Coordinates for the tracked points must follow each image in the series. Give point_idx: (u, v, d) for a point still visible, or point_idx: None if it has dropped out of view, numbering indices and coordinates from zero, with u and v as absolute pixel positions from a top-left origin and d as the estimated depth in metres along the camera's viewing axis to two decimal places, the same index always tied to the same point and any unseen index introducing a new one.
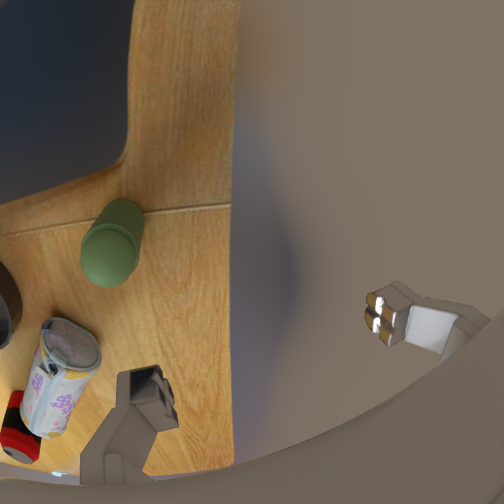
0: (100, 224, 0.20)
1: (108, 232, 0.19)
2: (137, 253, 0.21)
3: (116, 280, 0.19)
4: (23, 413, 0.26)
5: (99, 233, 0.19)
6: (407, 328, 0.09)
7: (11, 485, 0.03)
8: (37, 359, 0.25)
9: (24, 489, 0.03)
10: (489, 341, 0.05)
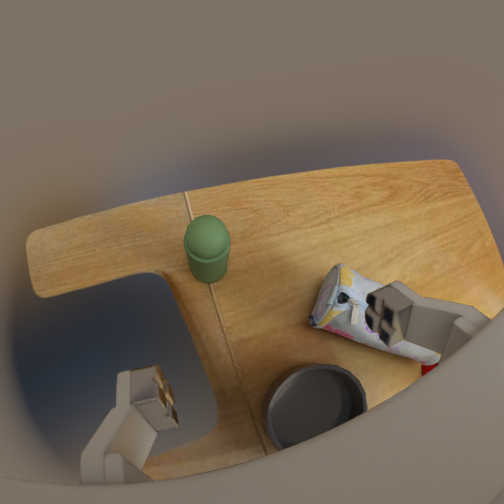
0: (185, 249, 0.30)
1: None
2: None
3: (214, 219, 0.28)
4: (433, 356, 0.31)
5: (186, 242, 0.29)
6: (407, 328, 0.09)
7: (11, 485, 0.03)
8: (350, 329, 0.32)
9: (24, 489, 0.03)
10: (489, 341, 0.05)
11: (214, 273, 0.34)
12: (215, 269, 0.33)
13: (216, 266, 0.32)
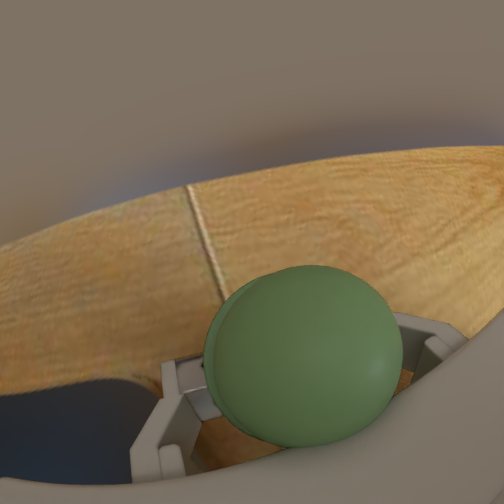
0: (215, 401, 0.07)
1: (214, 370, 0.06)
2: None
3: (367, 298, 0.05)
4: None
5: (223, 400, 0.06)
6: None
7: (11, 485, 0.03)
8: None
9: (24, 489, 0.03)
10: (489, 341, 0.05)
11: None
12: None
13: None
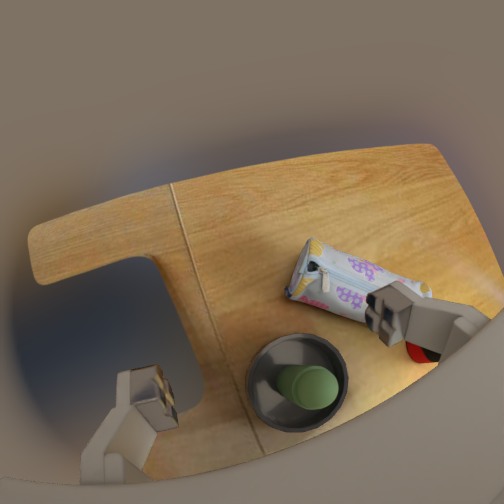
0: (294, 399, 0.27)
1: (297, 393, 0.26)
2: (309, 367, 0.28)
3: (329, 379, 0.25)
4: None
5: (299, 399, 0.26)
6: (407, 328, 0.09)
7: (11, 485, 0.03)
8: (324, 298, 0.35)
9: (24, 489, 0.03)
10: (489, 341, 0.05)
11: None
12: None
13: None
